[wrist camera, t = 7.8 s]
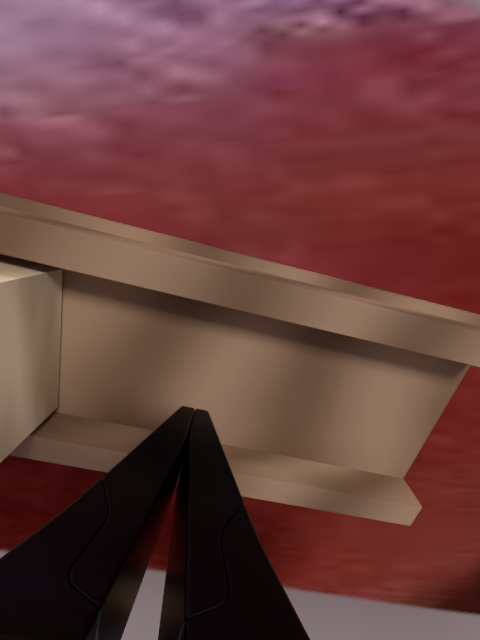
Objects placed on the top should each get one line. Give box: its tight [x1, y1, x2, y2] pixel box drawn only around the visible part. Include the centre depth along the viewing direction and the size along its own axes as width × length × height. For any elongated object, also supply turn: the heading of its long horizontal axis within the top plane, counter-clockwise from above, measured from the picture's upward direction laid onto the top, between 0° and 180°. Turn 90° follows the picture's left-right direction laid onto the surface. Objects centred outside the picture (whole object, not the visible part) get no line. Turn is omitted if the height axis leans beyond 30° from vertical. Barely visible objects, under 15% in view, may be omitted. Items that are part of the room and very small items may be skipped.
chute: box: [0, 192, 480, 526], centre depth 10 cm, size 25×10×2 cm, turn 76°
